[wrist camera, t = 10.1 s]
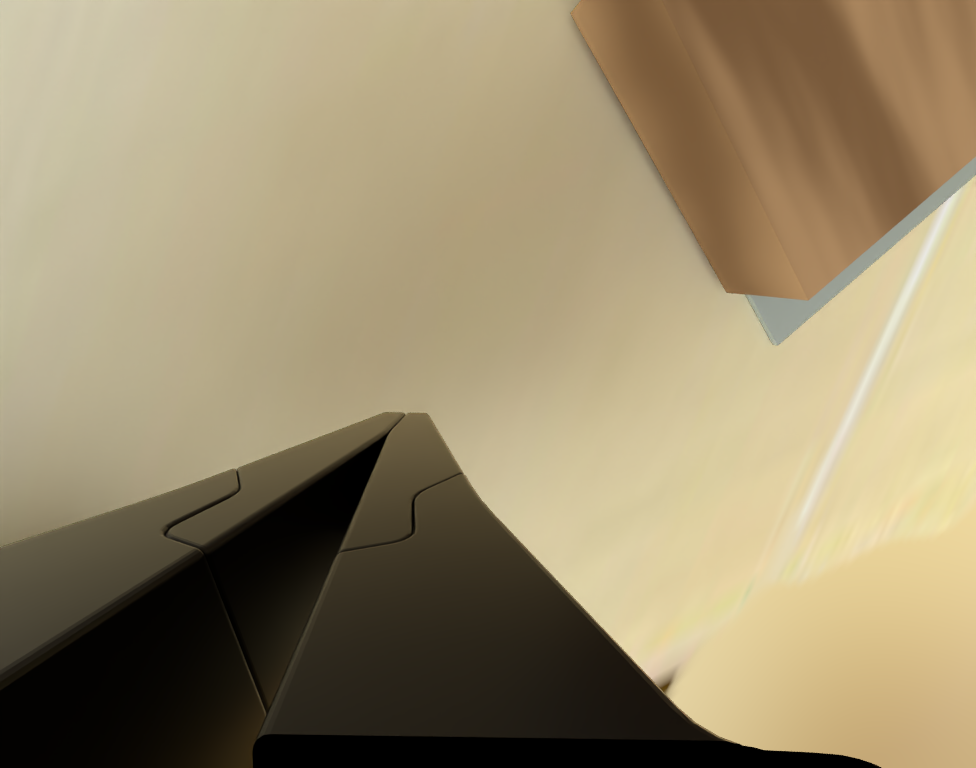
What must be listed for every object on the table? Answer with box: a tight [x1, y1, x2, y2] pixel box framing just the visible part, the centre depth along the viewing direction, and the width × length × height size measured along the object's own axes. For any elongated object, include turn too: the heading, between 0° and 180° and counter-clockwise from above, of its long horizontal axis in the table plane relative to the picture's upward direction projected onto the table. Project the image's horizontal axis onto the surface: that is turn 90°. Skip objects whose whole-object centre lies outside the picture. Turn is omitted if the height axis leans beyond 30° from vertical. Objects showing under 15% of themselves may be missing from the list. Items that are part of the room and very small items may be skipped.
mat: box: [745, 157, 976, 345], centre depth 18 cm, size 16×20×1 cm
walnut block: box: [571, 0, 976, 301], centre depth 16 cm, size 4×12×10 cm
